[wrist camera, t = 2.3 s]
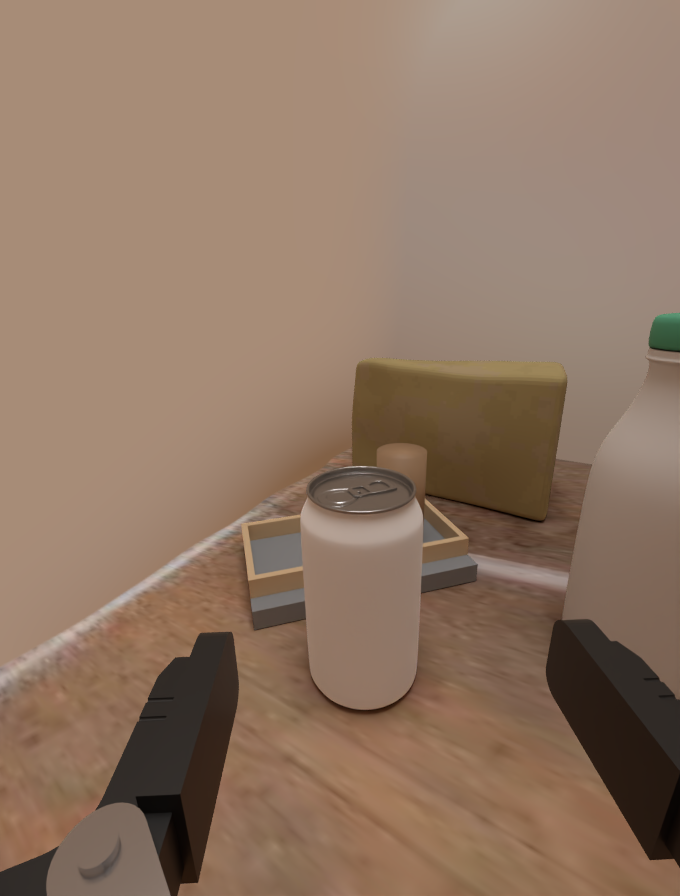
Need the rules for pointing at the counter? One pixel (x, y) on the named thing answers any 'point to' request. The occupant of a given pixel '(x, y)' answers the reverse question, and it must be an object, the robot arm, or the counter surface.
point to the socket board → (280, 550)
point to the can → (362, 584)
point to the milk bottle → (636, 520)
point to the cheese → (466, 426)
